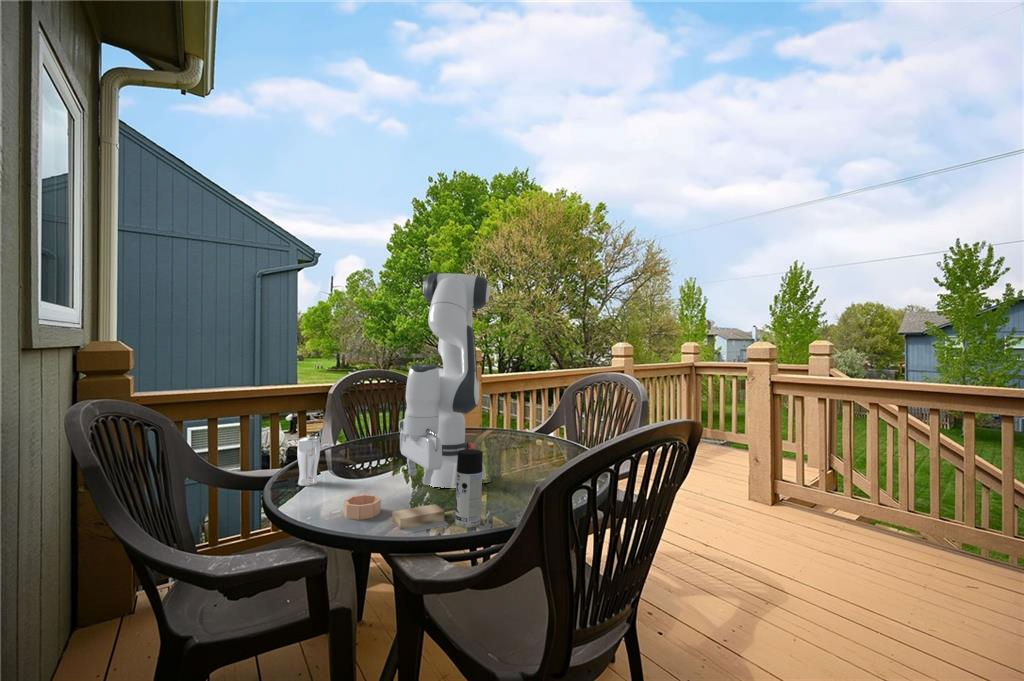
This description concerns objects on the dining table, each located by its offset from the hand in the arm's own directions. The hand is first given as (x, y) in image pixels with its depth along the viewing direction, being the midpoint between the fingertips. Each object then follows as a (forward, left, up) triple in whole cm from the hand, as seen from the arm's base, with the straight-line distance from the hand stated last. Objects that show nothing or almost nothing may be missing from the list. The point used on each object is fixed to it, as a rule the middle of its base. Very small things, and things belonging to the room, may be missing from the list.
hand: (419, 479), depth 123 cm
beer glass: (+18, -53, -13) cm, 58 cm away
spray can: (-11, +7, -13) cm, 18 cm away
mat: (0, 0, -13) cm, 13 cm away
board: (0, 0, -11) cm, 11 cm away
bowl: (+11, -13, -13) cm, 21 cm away
